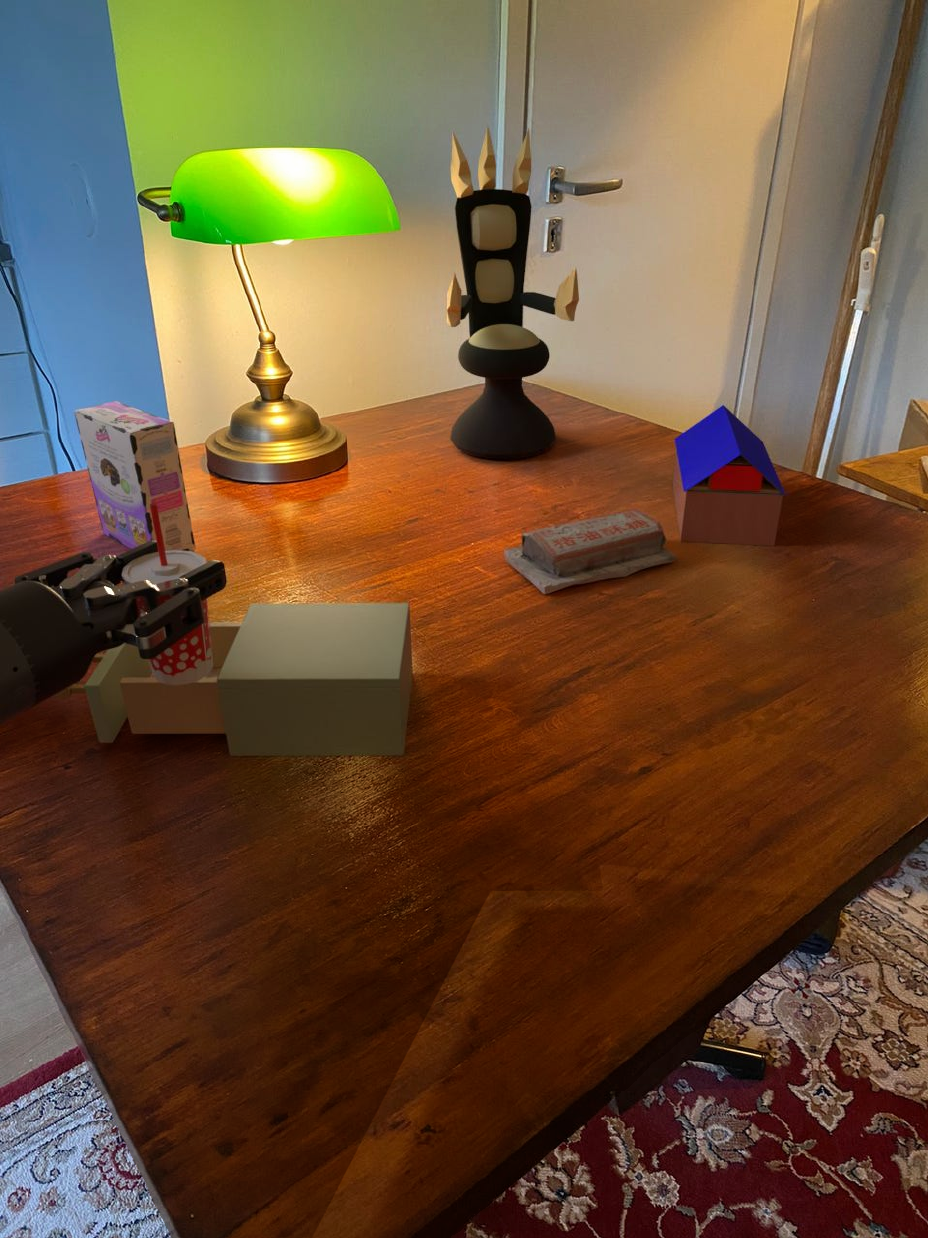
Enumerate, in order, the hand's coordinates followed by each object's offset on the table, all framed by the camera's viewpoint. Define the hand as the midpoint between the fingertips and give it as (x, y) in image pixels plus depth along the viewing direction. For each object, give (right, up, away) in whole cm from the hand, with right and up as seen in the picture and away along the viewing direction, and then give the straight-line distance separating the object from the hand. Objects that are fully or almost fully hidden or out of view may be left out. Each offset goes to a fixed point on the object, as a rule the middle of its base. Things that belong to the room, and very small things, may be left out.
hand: (189, 562), depth 69 cm
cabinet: (+9, -13, +13) cm, 20 cm away
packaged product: (+36, +2, +39) cm, 53 cm away
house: (+55, +10, +51) cm, 76 cm away
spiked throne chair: (+26, +24, +78) cm, 86 cm away
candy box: (-19, +5, +46) cm, 50 cm away
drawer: (-5, -12, +13) cm, 18 cm away
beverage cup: (-1, -9, +2) cm, 9 cm away
